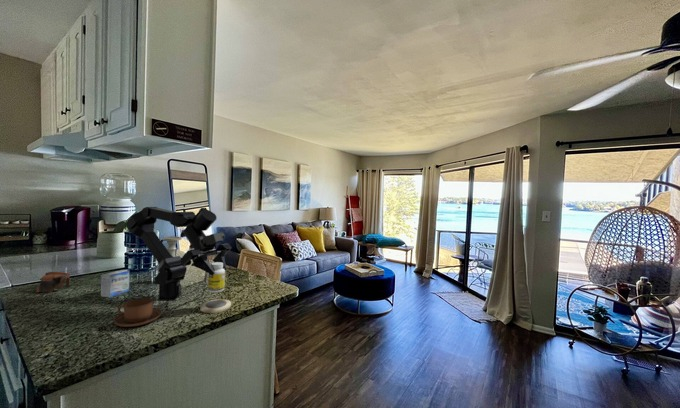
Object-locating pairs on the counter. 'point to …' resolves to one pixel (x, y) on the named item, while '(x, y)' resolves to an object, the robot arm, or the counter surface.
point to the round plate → (215, 306)
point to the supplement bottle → (216, 278)
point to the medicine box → (114, 283)
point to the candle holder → (171, 244)
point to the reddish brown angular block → (53, 281)
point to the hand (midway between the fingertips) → (219, 272)
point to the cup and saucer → (137, 313)
